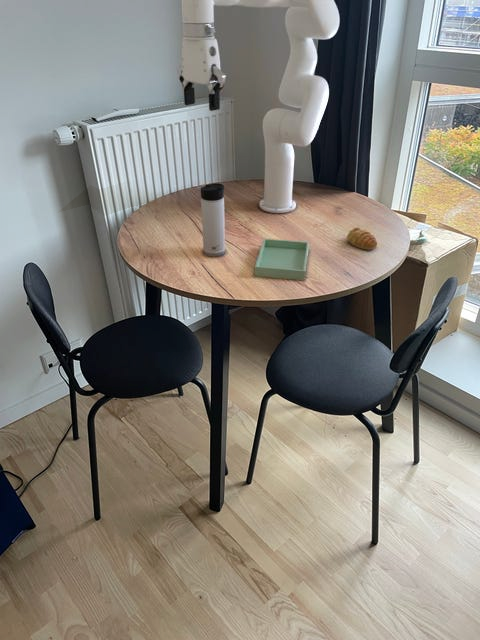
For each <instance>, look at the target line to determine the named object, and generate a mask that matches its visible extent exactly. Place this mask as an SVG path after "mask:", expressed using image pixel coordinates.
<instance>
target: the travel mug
mask: <svg viewBox="0 0 480 640" xmlns="http://www.w3.org/2000/svg"><path fill="white" fill-rule="evenodd" d="M224 189H225V186H224V184H223V183H208V184H205V185H204V186H201V187H200V208H201V226H202V227H201V230H202V245H203V247H202V249H203V250H202V251H203V254H204V255H205V256H207V257H212V258H217V257H221V256H223V255H224V254H225V253H226V227H225V225H226V224H225V223H226V222H225V194H224V193H225V192H224V191H225V190H224Z"/></svg>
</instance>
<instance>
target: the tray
mask: <svg viewBox="0 0 480 640" xmlns="http://www.w3.org/2000/svg"><path fill="white" fill-rule="evenodd" d="M309 248H310V241H303V240H302V241H301V240H287V239H275V238H263V240H262V243H261V246H260V249H259V252H258V256H257V259H256V262H255V265H254V277H261V278H262V277H263V278H273V279H285V280H296V281H305V278H306V271H307V264H308V257H309Z"/></svg>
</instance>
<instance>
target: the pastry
mask: <svg viewBox="0 0 480 640" xmlns="http://www.w3.org/2000/svg"><path fill="white" fill-rule="evenodd" d="M346 239H347V241H348V242H349V243H350V244H351V245H353V246H354V247H355V246H356V247H357V248H359V249H362V250H367V251H370V250H373V249H375V248H377V246H378V241H377V238H375V237H374V235H373V234H372V233H371V231H368V229H362V228H361V227H354V228H352V229H351V230H349V232H348V233H347V235H346Z"/></svg>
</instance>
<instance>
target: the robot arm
mask: <svg viewBox="0 0 480 640" xmlns="http://www.w3.org/2000/svg"><path fill="white" fill-rule="evenodd" d="M180 3H181V17H182V20H181V21H182V34H183V37H182V46H181V65H180V66H179V67H177V68H176V71H177V75H178V79H179V81H180V83H181V88H182V89H183V101H184V106H190V105H191V106H192V105H195V103H196V95H195V94H196V93H195V92H196V91H195V87H194V84H197V85H202V86H203V85H204V86H206V87H207V89H208V91H209V93H208V111H210V112H215V111H217V110H218V111H219V110H220V108H221V101H220V99H221V98H220V96H221V95H220V93H222V90H223V88H224V87H225V81H226V79H227V75H226V74H225V73H224V72H223V71H222V70H221V60H220V59H221V58H220V57H221V56H220V49H219V45H218V40H217V38H215V32H216V28H215V14H214V11H215V9H214V6H218V7H230V6H231V7H232V6H239V7H246V8H288V9H287V10H286V13H285V15H284V16H285V17H284V26H285V30H286V32H287V36H288V40H289V45H290V51H289V52H290V53H289V58H288V61H287V64H286V68H285V70H284V73H283V76H282V79H281V83H280V85H279V89H278V100H279V101H280V103H282V104H283V105H285V106H287V107H291V108H296V109H300V111H297V110H295V111H294V110H292V109H288V108H287V109H286V108H279V107H278V108H277V107H276V108H272V109H270V110H268V111H267V112H266V114H265V115H264V117H263V120H262V133H263V141H264V185H263V186H264V187H263V188H264V189H263V198H262V199H261V200H260V201H259V203H258V206H259V208H260V209H261V210H262V211H264V212H267V213H272V214H285V213H289V212H292V211H294V210H296V207H297V203H296V201H295V200H293V187H294V186H293V184H294V183H293V182H294V170H295V169H294V167H295V151H294V147H293V146H296V147H299V148H300V147H301V148H304V147H307V146H309V145H310V144H311V143H312V142H313V140H314V138H315V137H316V134H317V132H318V130H319V126H320V123H321V120H322V118H323V115H324V113H325V110H326V107H327V104H328V101H329V95H330V88H329V84H328V81H327V80H326V78H324V77H323V76H320V75H315V74H314V73H315V70H316V66H317V63H318V52H317V48H316V45H315V43H314V40H330V39H331V38H333V37H334V36H335V35H336V34H337V32H338V30H339V27H340V19H341V18H340V13H339V9H338V6H337V4H336V2H335V0H180ZM313 39H314V40H313Z"/></svg>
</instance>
